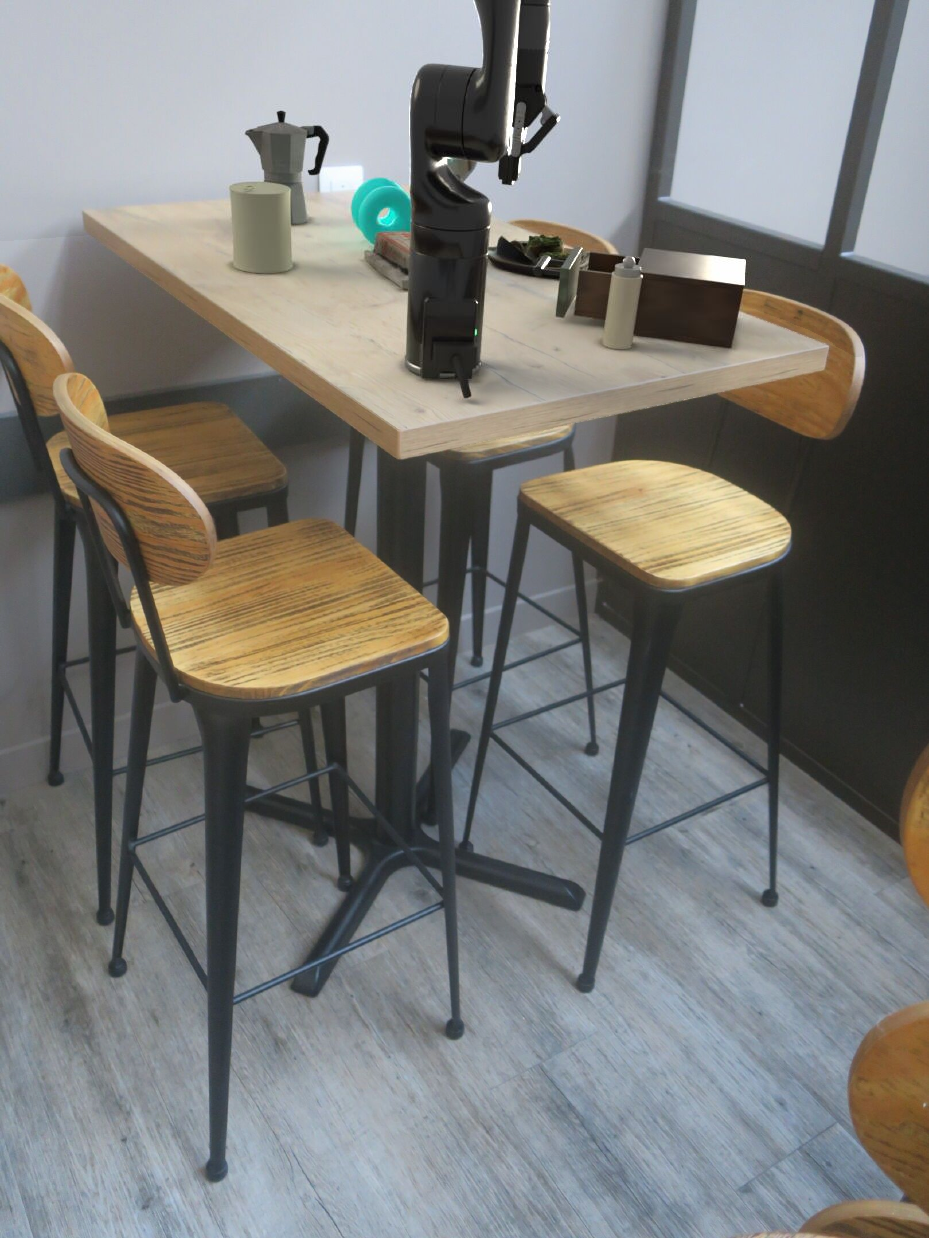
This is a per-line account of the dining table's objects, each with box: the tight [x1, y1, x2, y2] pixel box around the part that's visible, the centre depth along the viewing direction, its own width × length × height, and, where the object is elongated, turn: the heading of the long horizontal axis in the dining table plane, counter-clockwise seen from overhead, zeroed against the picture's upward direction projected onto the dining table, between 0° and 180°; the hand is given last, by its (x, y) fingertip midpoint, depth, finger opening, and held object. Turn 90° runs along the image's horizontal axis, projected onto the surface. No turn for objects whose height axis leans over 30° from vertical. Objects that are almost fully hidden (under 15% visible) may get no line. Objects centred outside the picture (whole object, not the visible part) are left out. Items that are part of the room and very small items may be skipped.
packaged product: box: [363, 231, 410, 290], centre depth 164 cm, size 18×5×10 cm
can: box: [228, 181, 294, 274], centre depth 160 cm, size 9×9×12 cm
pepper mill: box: [601, 255, 642, 350], centre depth 139 cm, size 4×4×12 cm
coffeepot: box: [244, 110, 330, 226], centre depth 187 cm, size 15×9×18 cm, turn 118°
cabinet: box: [633, 247, 746, 349], centre depth 149 cm, size 15×15×9 cm
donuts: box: [350, 177, 411, 246], centre depth 178 cm, size 10×10×10 cm
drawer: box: [533, 246, 641, 321], centre depth 151 cm, size 18×13×7 cm
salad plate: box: [488, 233, 590, 279], centre depth 175 cm, size 19×18×5 cm
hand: (508, 184), depth 146 cm, fingers closed
